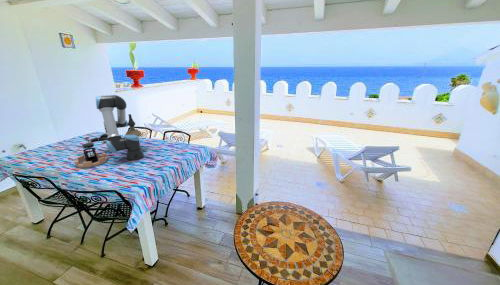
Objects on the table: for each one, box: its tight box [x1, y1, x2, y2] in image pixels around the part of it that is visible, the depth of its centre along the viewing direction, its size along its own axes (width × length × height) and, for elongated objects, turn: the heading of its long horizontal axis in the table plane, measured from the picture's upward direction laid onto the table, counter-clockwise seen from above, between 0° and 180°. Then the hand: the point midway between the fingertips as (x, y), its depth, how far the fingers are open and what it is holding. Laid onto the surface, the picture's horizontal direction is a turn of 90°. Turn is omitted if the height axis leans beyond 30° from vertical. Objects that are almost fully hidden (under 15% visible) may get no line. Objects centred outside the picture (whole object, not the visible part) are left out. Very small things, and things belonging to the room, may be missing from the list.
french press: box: [81, 137, 98, 163], centre depth 186 cm, size 12×9×23 cm
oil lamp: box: [124, 114, 143, 152], centre depth 213 cm, size 15×15×40 cm
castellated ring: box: [74, 151, 108, 169], centre depth 190 cm, size 24×24×6 cm
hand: (94, 143), depth 194 cm, fingers open, 13 cm apart
